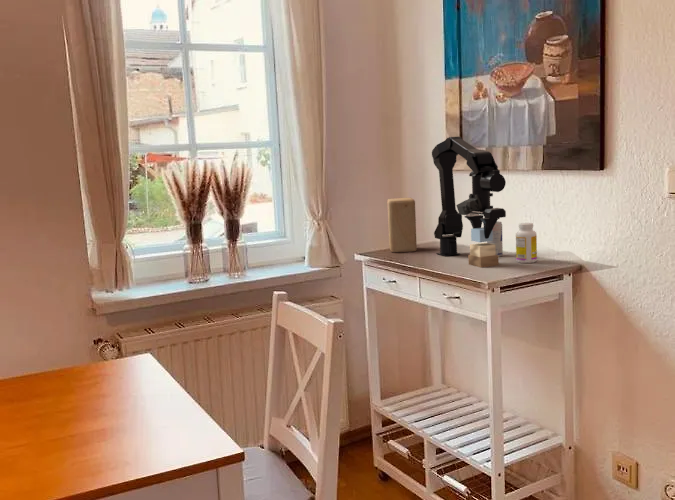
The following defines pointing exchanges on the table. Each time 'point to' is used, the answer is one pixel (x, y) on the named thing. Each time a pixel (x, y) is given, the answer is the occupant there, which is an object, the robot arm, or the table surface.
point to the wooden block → (402, 225)
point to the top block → (480, 235)
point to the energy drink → (497, 238)
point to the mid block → (482, 249)
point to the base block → (483, 261)
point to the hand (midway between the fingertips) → (482, 237)
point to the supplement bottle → (526, 244)
